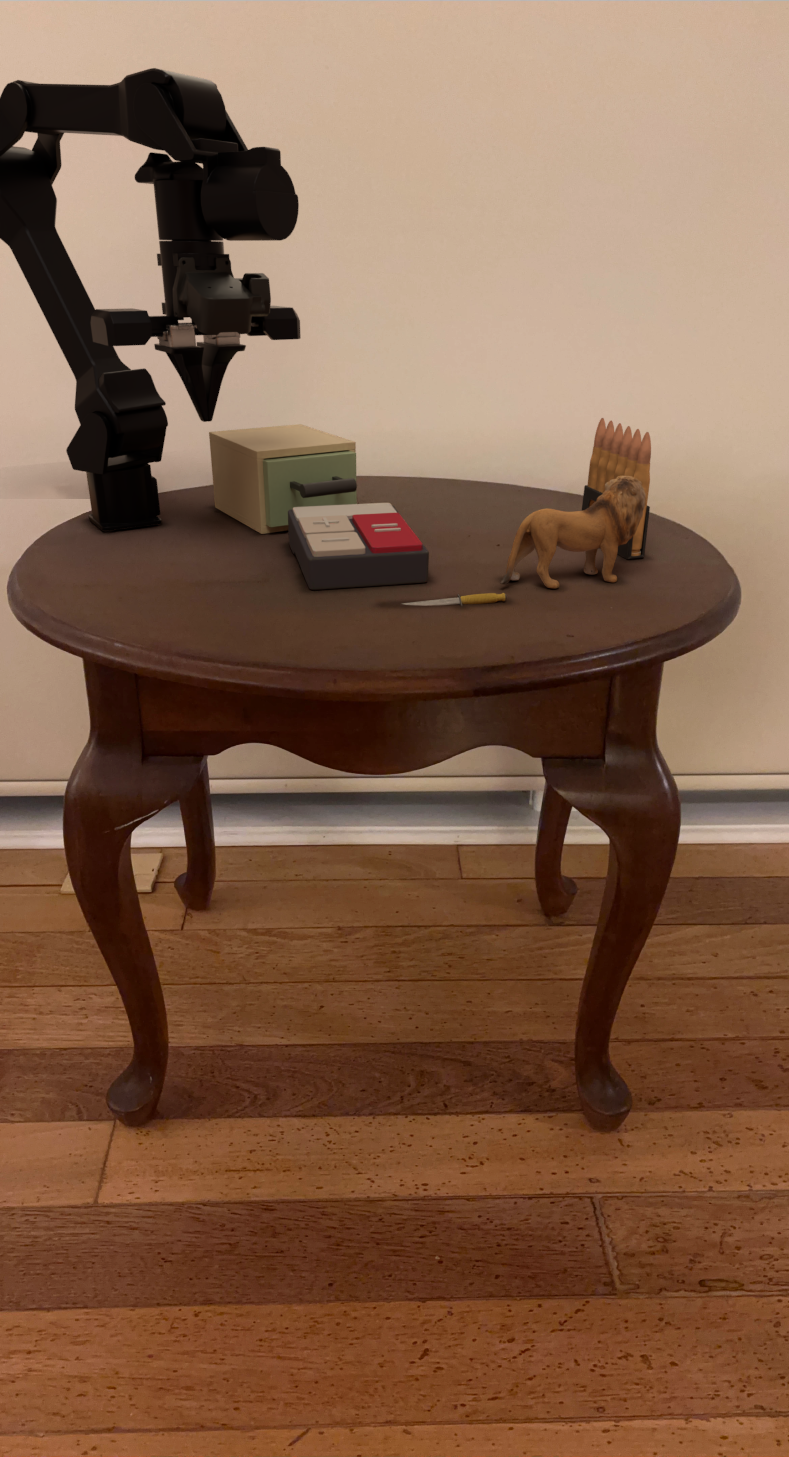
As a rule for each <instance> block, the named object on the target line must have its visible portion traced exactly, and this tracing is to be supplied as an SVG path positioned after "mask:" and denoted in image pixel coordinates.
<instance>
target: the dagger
mask: <svg viewBox="0 0 789 1457" xmlns="http://www.w3.org/2000/svg"><path fill="white" fill-rule="evenodd" d="M456 595H457V597H449V598H440V599H439V598H438V599H431V600H430V599H429V600H421V601H411V602H402V603H401V605H406V606H427V607H429V606H455V605H460V607H461V608H463V605H479V604H480V605H481V604H482V605H483V604H493V603H497V602H501V601H502V602H506V601H507V597H508V596H507V594H506V593H505V592H502V593H496V592H489V593H488V592H487V593H475V594H467V595H460V593H457V594H456Z"/></svg>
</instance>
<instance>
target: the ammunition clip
mask: <svg viewBox="0 0 789 1457" xmlns="http://www.w3.org/2000/svg"><path fill="white" fill-rule="evenodd" d="M651 457H652V441H651V436H650V433H649V431H646V432H645V433H644V435H643V437H642V434H641V431H640V428H637V429H635V431H634V433H632V427H631V426H630V425H628V426H626V428H625V429H623V426H622V423H618V424H617V426H616V428H615V425H614V422H613V420H609V422H608V423H607V425H606V422H605V418H604V417H601V418H600V420H599V422H598V424H597V427H596V430H595V434H594V439H593V446H592V453H591V457H590V460H589V467H588V475H587V484H586V485H584V486H583V494H582V502H581V503H582V504H581V511H583V510H585V509H587V508H589V507H590V506H592V504H593V503H594V502H596V500H597V498H598V497H599V496H601V495H602V494H603V493H604V492H605V484H606V483H607V482H610V480H612V479H616V478H617V477H618V476H632V477H634V478H636V479H638V480H639V481H640V482H641V483H642V486H643V488H644V490H645V496H646V505H645V507H644V510H643V516H642V518H641V520H640V522H639V525H638V527H637V530H636V533H635V535H633V537H632V538H631V539H630V540H629V541H628V542H627V543H626V544H623V545H620V546H618V552H617V556H620V557H622V558H623V559H626V560H635V559H644V558H645V552H646V544H647V538H648V536H647V535H648V528H649V527H648V526H649V518H650V510H651V506H649V505H648V499H649V491H650V486H651V485H650V484H651V473H650V472H651Z"/></svg>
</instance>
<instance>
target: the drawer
mask: <svg viewBox="0 0 789 1457" xmlns="http://www.w3.org/2000/svg"><path fill="white" fill-rule="evenodd" d="M263 473H264V491H265V508H266V525H267V526H269V527H279V526H286V525H288V511H289V510H292V509H293V508H294V507H308V506H328V505H349V504H358V501H357V499H358V498H357V497H358V496H357V494H358V490H357V488H358V484H357V452H356V453H355V452H352V451H346V452H339V451H335V452H325V453H315V454H305V455H295V456H286V457H276V458H266V459H264V460H263Z"/></svg>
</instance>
